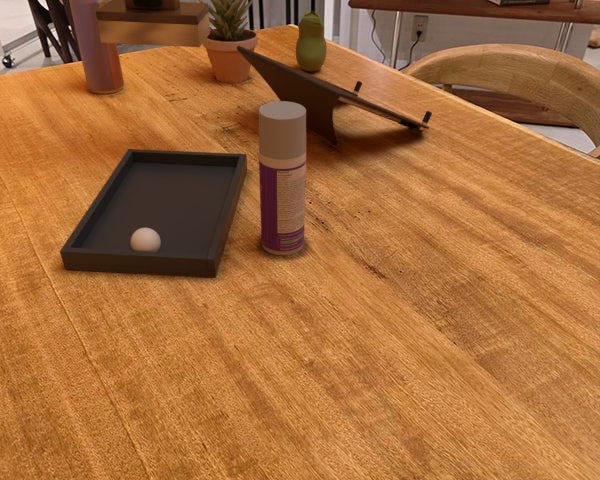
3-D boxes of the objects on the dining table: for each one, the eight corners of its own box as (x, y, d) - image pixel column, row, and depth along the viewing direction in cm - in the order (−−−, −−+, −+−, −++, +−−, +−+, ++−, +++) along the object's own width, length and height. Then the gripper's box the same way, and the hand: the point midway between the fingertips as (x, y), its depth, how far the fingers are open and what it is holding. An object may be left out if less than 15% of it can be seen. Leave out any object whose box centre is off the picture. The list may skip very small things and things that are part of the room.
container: (255, 236, 66) (250, 104, 56) (294, 228, 67) (295, 97, 58) (270, 259, 62) (267, 122, 53) (310, 250, 64) (315, 115, 54)
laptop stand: (422, 179, 89) (450, 120, 86) (317, 150, 73) (347, 76, 69) (326, 128, 103) (347, 75, 100) (220, 94, 87) (241, 30, 83)
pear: (326, 66, 110) (329, 8, 104) (324, 76, 106) (326, 16, 100) (297, 65, 111) (297, 7, 105) (293, 74, 107) (294, 15, 100)
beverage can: (98, 97, 97) (77, -3, 87) (82, 87, 100) (60, -10, 91) (131, 89, 100) (114, -9, 90) (114, 79, 103) (96, -16, 94)
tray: (64, 269, 60) (59, 251, 59) (131, 164, 79) (128, 148, 77) (215, 277, 60) (214, 259, 58) (247, 170, 78) (246, 153, 76)
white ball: (134, 249, 62) (128, 260, 60) (133, 222, 61) (126, 233, 58) (163, 251, 62) (158, 262, 60) (162, 224, 61) (157, 234, 58)
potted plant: (258, 67, 109) (253, -91, 94) (259, 86, 102) (254, -83, 86) (203, 68, 109) (190, -92, 93) (201, 86, 101) (186, -84, 86)
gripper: (115, -199, 65) (140, -14, 76) (55, -203, 52) (97, 19, 64) (182, -198, 64) (197, -11, 76) (138, -201, 52) (164, 22, 64)
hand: (151, 1), depth 70 cm, fingers closed on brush, 2 cm apart
